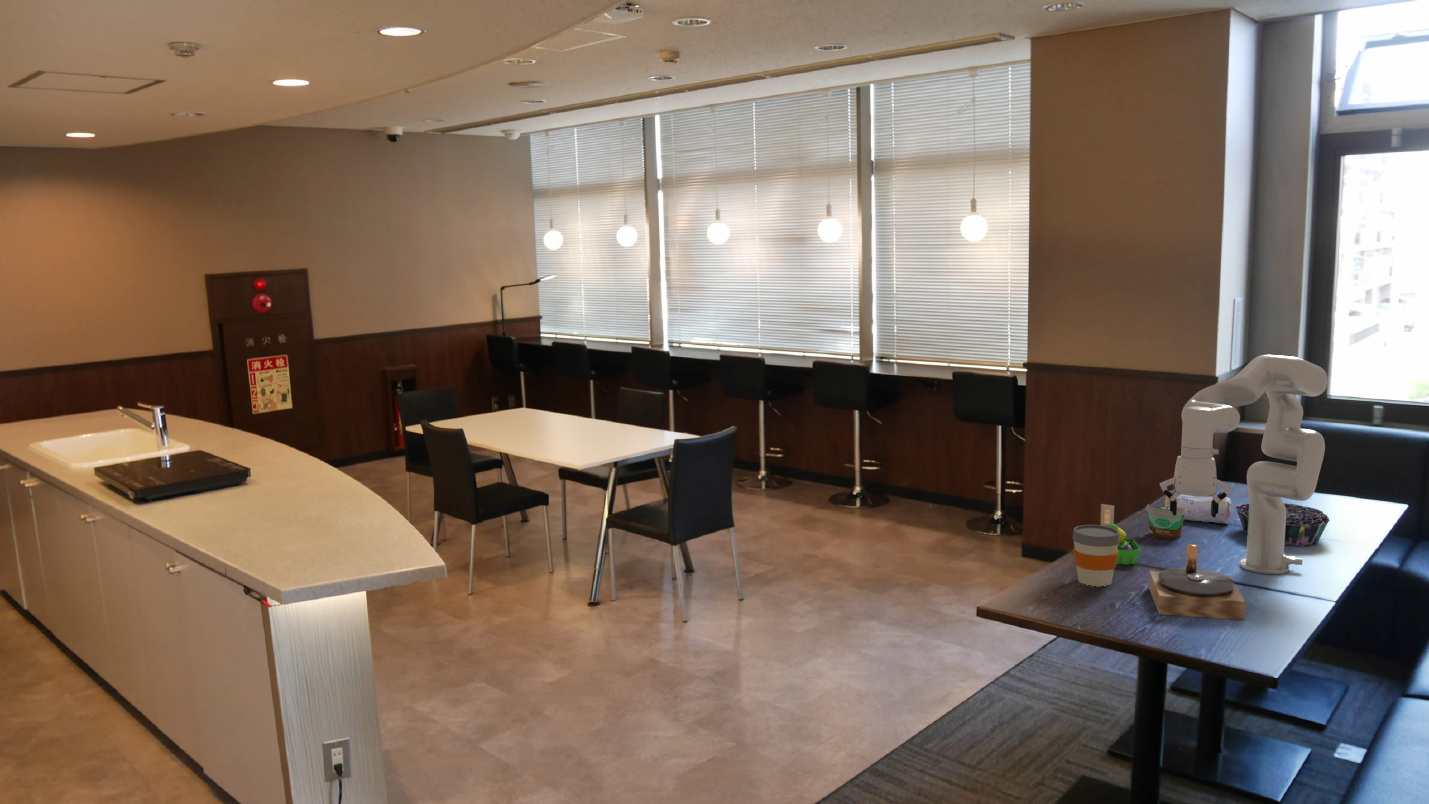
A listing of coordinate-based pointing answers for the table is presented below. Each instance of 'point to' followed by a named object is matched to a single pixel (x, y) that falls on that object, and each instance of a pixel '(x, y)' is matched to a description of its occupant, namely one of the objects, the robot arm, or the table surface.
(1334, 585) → the table surface
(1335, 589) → the table surface
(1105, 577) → the reusable coffee cup
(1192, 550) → the handwheel
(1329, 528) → the table surface
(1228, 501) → the pencil case
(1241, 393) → the robot arm
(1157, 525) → the food container
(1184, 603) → the block
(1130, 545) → the fruit basket
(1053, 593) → the table surface
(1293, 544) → the decorative bowl
